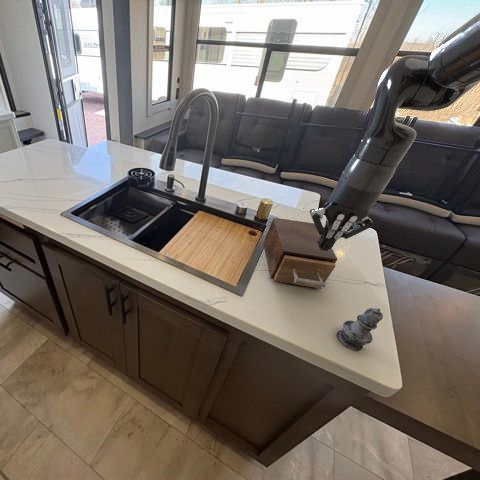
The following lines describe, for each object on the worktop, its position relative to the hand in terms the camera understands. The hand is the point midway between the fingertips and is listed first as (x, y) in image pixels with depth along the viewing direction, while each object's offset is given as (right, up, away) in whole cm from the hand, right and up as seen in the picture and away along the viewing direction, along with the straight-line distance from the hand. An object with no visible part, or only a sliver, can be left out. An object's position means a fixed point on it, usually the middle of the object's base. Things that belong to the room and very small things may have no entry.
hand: (322, 248), depth 61 cm
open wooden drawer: (+1, -7, +15) cm, 16 cm away
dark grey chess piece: (+5, -22, -1) cm, 22 cm away
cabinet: (+1, -5, +19) cm, 20 cm away
